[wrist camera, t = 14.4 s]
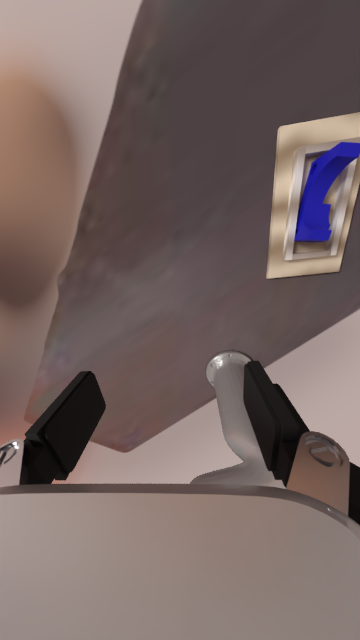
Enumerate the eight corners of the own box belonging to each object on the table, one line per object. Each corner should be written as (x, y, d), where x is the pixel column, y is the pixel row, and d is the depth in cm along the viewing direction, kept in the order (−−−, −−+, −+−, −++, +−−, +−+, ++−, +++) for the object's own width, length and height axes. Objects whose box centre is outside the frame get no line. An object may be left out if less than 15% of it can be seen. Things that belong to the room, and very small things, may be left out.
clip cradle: (335, 271, 36) (345, 272, 33) (266, 278, 37) (271, 279, 35) (371, 113, 27) (387, 100, 24) (278, 129, 28) (285, 119, 26)
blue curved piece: (312, 242, 33) (337, 241, 28) (289, 241, 33) (309, 239, 28) (339, 164, 29) (374, 143, 23) (311, 162, 29) (341, 141, 23)
